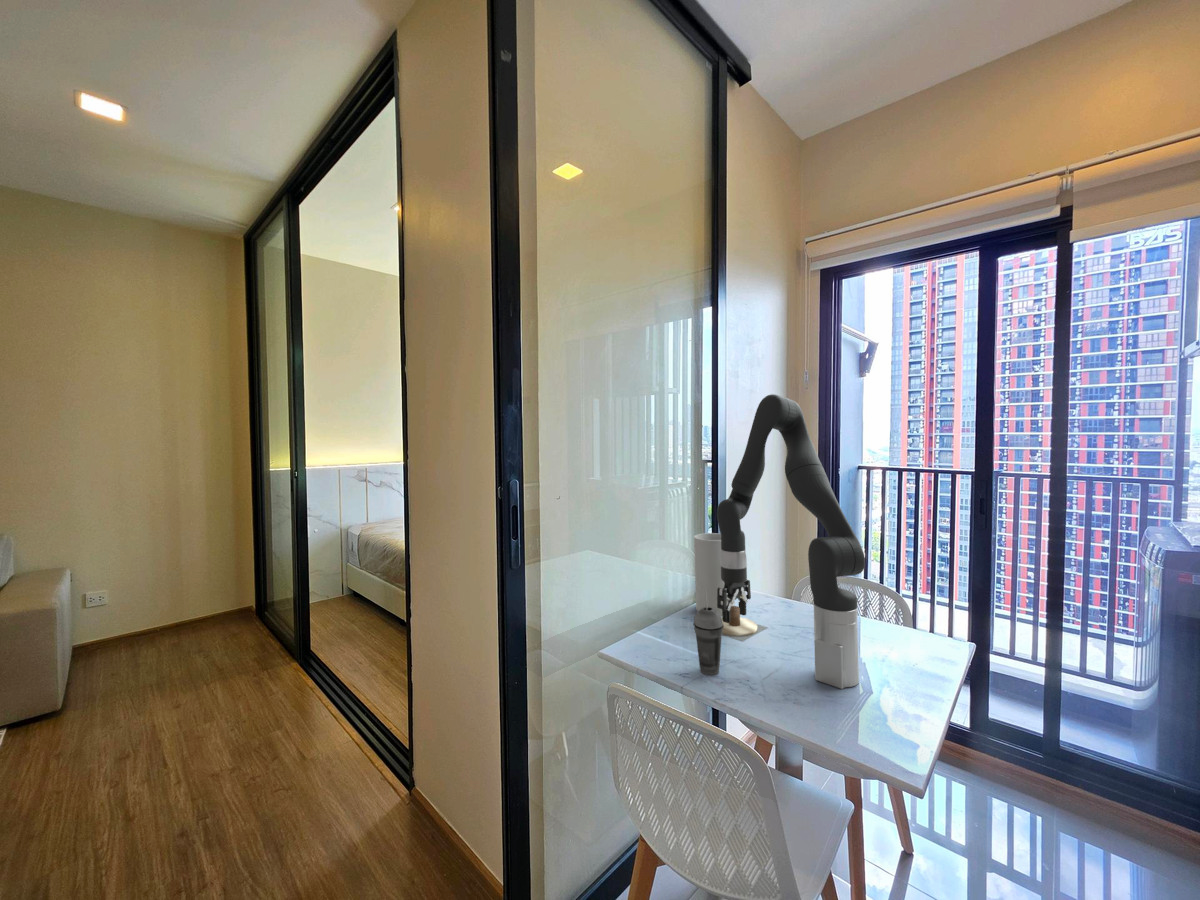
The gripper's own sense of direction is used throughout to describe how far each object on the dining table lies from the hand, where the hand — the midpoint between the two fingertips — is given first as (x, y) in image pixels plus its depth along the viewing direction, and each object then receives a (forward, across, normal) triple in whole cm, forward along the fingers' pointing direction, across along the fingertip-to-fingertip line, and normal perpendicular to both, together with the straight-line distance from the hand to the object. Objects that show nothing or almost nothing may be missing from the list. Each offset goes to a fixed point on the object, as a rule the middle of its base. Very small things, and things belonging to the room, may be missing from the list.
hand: (734, 618), depth 142 cm
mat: (+3, 0, 0) cm, 3 cm away
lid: (+3, 0, 0) cm, 3 cm away
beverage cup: (+3, -27, -10) cm, 29 cm away
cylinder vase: (+4, +8, +13) cm, 16 cm away
